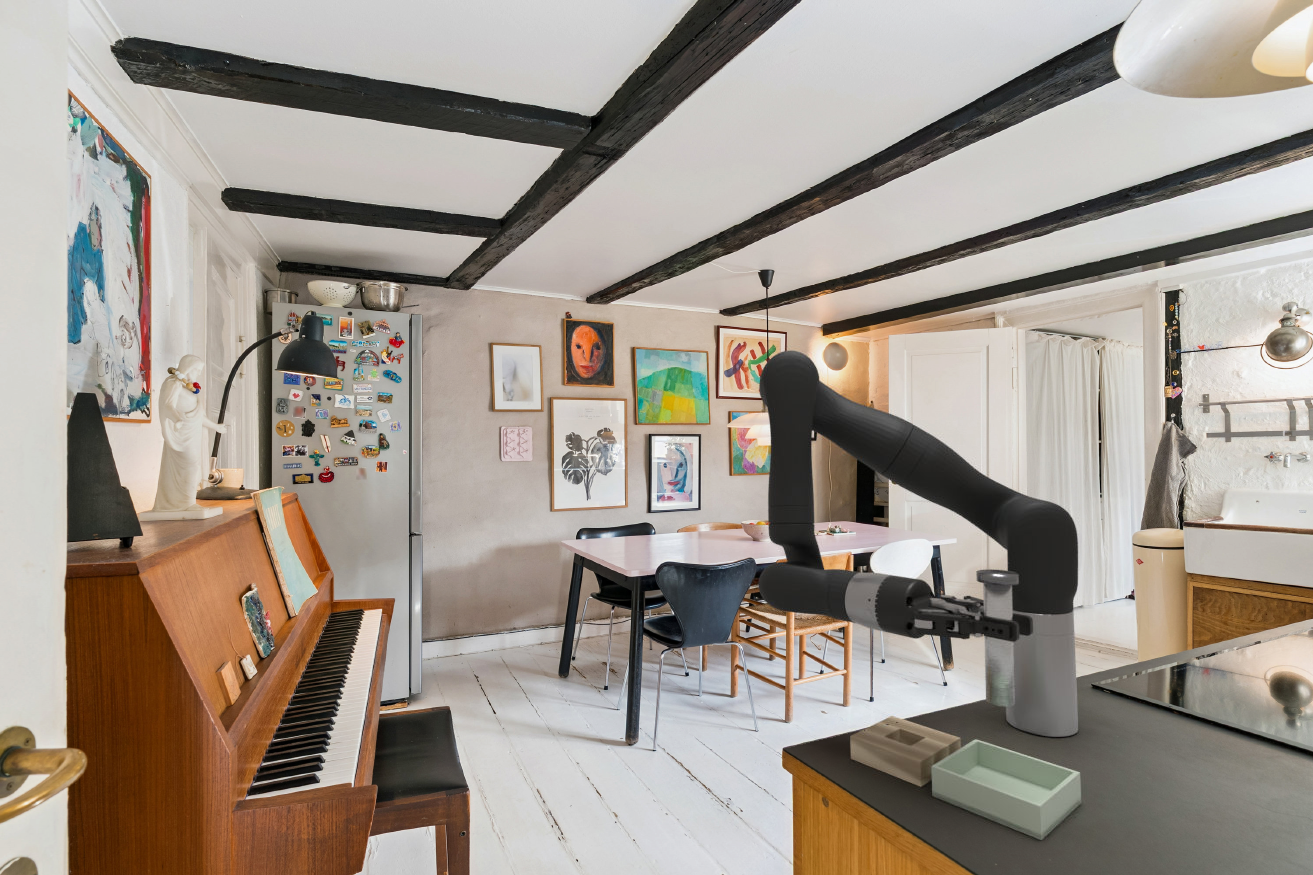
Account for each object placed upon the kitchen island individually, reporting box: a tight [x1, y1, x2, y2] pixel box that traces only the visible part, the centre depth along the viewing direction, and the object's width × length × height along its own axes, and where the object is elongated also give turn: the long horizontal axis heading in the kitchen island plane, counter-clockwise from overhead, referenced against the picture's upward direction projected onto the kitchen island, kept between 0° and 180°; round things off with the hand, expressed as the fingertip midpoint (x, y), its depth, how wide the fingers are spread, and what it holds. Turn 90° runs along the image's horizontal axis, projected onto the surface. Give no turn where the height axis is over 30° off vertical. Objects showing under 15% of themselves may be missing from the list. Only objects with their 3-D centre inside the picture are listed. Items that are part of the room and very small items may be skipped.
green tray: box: [931, 738, 1082, 841], centre depth 78 cm, size 11×12×4 cm
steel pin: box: [976, 569, 1019, 707], centre depth 78 cm, size 4×4×15 cm
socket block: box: [849, 715, 962, 788], centre depth 88 cm, size 10×10×3 cm
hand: (1024, 629), depth 76 cm, fingers closed on steel pin, 3 cm apart
